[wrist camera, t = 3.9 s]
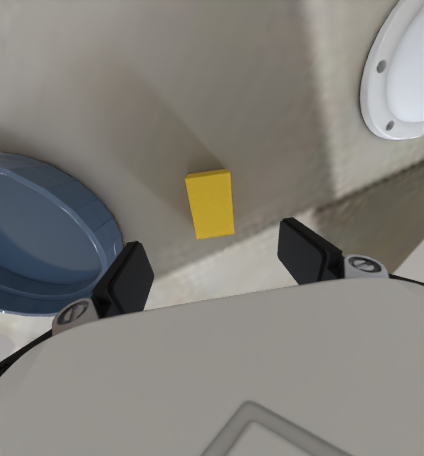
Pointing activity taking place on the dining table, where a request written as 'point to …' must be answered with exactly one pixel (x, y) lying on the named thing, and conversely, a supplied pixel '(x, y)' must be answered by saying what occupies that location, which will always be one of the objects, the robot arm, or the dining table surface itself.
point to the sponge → (211, 203)
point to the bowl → (50, 238)
